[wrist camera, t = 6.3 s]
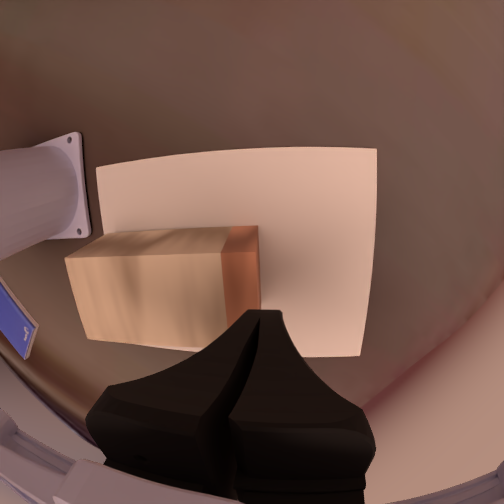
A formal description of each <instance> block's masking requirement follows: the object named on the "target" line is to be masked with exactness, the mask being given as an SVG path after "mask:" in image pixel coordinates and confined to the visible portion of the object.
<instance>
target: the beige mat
mask: <svg viewBox="0 0 504 504" xmlns="http://www.w3.org/2000/svg"><path fill="white" fill-rule="evenodd" d="M96 175H97V185H98V194H99V203H100V210H101V217H102V224H103V231H104V235H105V234H107V233H121V232H136V231H152V230H169V229H187V228H207V227H230V226H255V225H258V235H259V258H260V282H261V309H263V310H281V311H282V312H283V320H284V323H285V326H286V329H287V331H288V333H289V336H290V338H291V340H292V342H293V343H294V345H295V347H296V349H297V350H298V352H299V353H300V355H301V356H302V357H341V356H360V352H361V346H362V340H363V335H364V328H365V322H366V315H367V308H368V301H369V293H370V285H371V275H372V265H373V254H374V241H375V224H376V199H377V149H369V148H346V147H277V148H252V149H235V150H221V151H209V152H199V153H189V154H180V155H172V156H164V157H156V158H149V159H142V160H136V161H130V162H124V163H118V164H112V165H107V166H101V167H96ZM138 345H143V344H138ZM145 346H152V347H159V348H167V349H175V350H184V351H194V352H199V351H201V350H202V349H204V348H200V347H174V346H157V345H145Z"/></svg>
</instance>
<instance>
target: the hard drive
mask: <svg viewBox="0 0 504 504" xmlns="http://www.w3.org/2000/svg"><path fill="white" fill-rule="evenodd" d="M38 327H39V325H38V324H37V322H36V321H35V320H34V319H33V318H32V317H31V315H30V314H29V313H28V312H27V310H26V309H25V308H24V307H23V305H22V304H21V303H20V302H19V300H18V299H17V298H16V296H15V295H14V294H13V293H12V291H11V290H10V288H9V287H8V286H7V284H6V283H5V282H4V280H3V279H2V277H1V276H0V330H1V331H2V332H3V334H4V335H5V336H6V338H7V339H8V340H9V341H10V343H11V344H12V345H13V346H14V348H15V349H16V350H17V351H18V352H19V354H20V355H21V356H22V357H23V358H24V359H27V358H28V357H29V355H30V351H31V348H32V345H33V342H34V339H35V336H36V333H37V330H38Z"/></svg>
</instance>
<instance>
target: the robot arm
mask: <svg viewBox="0 0 504 504" xmlns="http://www.w3.org/2000/svg"><path fill="white" fill-rule="evenodd" d="M71 138H72V141H71V142H70V139H71ZM80 229H81V231H82V233H81V232H80ZM90 235H91V226H90V220H89V213H88V205H87V198H86V189H85V179H84V168H83V155H82V137H81V134H80V133H79V132H73V133H70V134H66V135H63V136H61V137H58V138H55V139H52V140H49V141H46V142H44V143H41V144H38V145H36V146H33V147H30V148H19V149H10V150H2V151H0V261H1V260H3V259H5V258H7V257H9V256H11V255H13V254H15V253H17V252H19V251H21V250H24V249H26V248H28V247H30V246H32V245H34V244H37V243H39V242H41V241H43V240H46V239H66V238H86V237H88V236H90ZM85 420H86V426H87V429H88V431H89V433H90V435H91V436H92V438H93V439H94V441H95V442H96V444H97V445H98V446H99V448H100V449H101V451H102V452H103V454H104V455H105V456H106V458H107V459H106V461H105V462H104V464H100V463H97V462H93V461H90V460H86V459H79V460H77V461H75V460H73V459H71V458H69V457H67V456H65V455H63V454H61V453H59V452H57V451H56V450H54V449H52V448H50V447H48V446H46V445H45V444H43V443H41V442H39V441H38V440H36V439H34V438H33V437H31V436H29V435H28V434H26V433H25V432H23V431H21V430H20V429H19V428H18V426H17V425H16V423H15V422H14V420H13V419H12V418H11V417H10V416H9V415H8V413H6V412H5V411H4V410H2V409H1V408H0V480H1V481H2V482H3V483H4V484H6V485H7V486H8V487H9V488H10V489H11V490H13V491H14V492H15V493H16V494H18V495H19V496H20V497H21V498H23V499H24V500H25V501H27V502H28V503H29V504H365V503H364V491H363V490H364V489H365V488H366V480H365V473H366V471H367V469H368V468H369V466H370V464H371V462H372V460H373V458H374V456H375V451H376V447H375V440H374V436H373V433H372V430H371V428H370V425H369V423H368V420H367V418H366V416H365V414H364V412H363V410H362V409H361V408H359V407H358V406H356V405H354V404H353V403H351V402H349V401H348V400H346V399H344V398H343V397H341V396H340V395H338V394H337V393H336V392H335V391H333V390H332V389H331V388H330V387H329V386H328V385H327V384H325V383H324V382H323V381H322V380H321V379H320V378H319V377H318V376H317V375H316V374H315V373H314V372H313V370H312V369H311V368H310V367H309V366H308V364H307V363H306V362H305V361H304V359H303V358H302V356H301V355H300V353H299V352H298V350H297V349H296V347H295V345H294V343H293V342H292V340H291V338H290V336H289V333H288V331H287V329H286V326H285V323H284V320H283V312H282V311H281V310H263V309H248V310H246V311H245V312H244V313H243V314H242V315H241V316H240V317H239V318H238V319H237V320H236V321H235V322H234V323H233V324H232V325H231V326H230V327H229V328H228V329H227V330H226V331H225V332H224V333H223V334H221V335H220V336H219V337H218V338H217V339H215V340H214V341H213V342H212V343H210V344H209V345H208V346H207V347H205V348H204V349H202V350H201V351H199V352H198V353H196V354H194V355H193V356H191V357H189V358H188V359H186V360H184V361H182V362H180V363H178V364H176V365H174V366H172V367H170V368H168V369H165V370H163V371H160V372H158V373H155V374H153V375H150V376H147V377H144V378H140V379H137V380H133V381H129V382H125V383H120V384H116V385H111V386H108V387H107V388H106V390H105V391H104V392H103V394H102V395H101V396H100V398H99V399H98V400H97V402H96V403H95V404H94V406H93V407H92V408H91V410H90V411H89V413H88V414H87V416H86V419H85ZM387 504H504V461H503V462H502V463H501V464H500V465H499V466H498V468H497V470H495V471H493V472H490V473H488V474H486V475H483V476H481V477H478V478H476V479H473V480H471V481H468V482H465V483H463V484H460V485H457V486H454V487H451V488H448V489H445V490H441V491H438V492H435V493H431V494H428V495H424V496H420V497H416V498H411V499H407V500H403V501H397V502H393V503H387Z"/></svg>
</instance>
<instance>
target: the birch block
mask: <svg viewBox="0 0 504 504" xmlns="http://www.w3.org/2000/svg"><path fill="white" fill-rule="evenodd" d="M65 263H66V267H67V271H68V275H69V279H70V283H71V287H72V291H73V294H74V298H75V301H76V305H77V308H78V311H79V314H80V318H81V321H82V324H83V327H84V330H85V333H86V335H87V338H88V339H93V340H101V341H110V342H120V343H131V344H143V345H157V346H174V347H200V348H205V347H207V346H208V345H209V344H210V343H212V342H213V341H214V340H215V339H217V338H218V337H219V336H220V335H221V334H223V333H224V332H225V331H226V330H227V329H228V328H229V327H230V326H231V325H232V324H233V323H234V322H235V321H236V320H237V319H238V318H239V317H240V316H241V315H242V314H243V313H244V312H245V311H246V310H248V309H261V282H260V258H259V235H258V225H255V226H230V227H207V228H187V229H169V230H152V231H136V232H121V233H107V234H105V235H103V236H102V237H100V238H98V239H96V240H95V241H93V242H91V243H89V244H88V245H86V246H84V247H82V248H81V249H79V250H77V251H76V252H74V253H72V254H70V255H69V256H67V257H65Z"/></svg>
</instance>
